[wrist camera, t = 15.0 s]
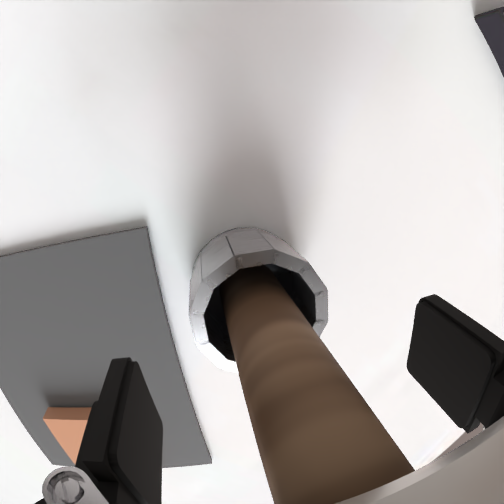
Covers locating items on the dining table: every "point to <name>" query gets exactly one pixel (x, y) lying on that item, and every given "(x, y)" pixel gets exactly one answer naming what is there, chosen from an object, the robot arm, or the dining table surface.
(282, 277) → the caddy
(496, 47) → the calculator
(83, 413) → the tile
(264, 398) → the rod
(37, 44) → the dining table surface
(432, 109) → the dining table surface
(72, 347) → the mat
